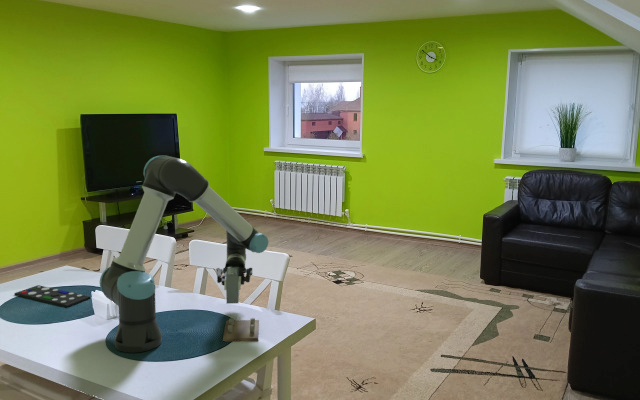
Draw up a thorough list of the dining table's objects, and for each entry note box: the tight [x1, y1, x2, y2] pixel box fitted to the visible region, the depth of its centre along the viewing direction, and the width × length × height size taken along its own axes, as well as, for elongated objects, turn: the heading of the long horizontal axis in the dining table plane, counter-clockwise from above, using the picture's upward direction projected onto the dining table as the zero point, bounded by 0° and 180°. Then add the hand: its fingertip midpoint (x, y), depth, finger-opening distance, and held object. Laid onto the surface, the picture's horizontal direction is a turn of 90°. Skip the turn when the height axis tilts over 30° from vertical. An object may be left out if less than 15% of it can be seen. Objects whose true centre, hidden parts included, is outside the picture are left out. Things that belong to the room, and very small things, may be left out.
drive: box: [225, 267, 240, 305], centre depth 194 cm, size 4×10×10 cm, turn 6°
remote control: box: [14, 284, 91, 309], centre depth 227 cm, size 11×30×2 cm, turn 65°
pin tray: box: [222, 317, 260, 342], centre depth 197 cm, size 12×16×4 cm
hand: (232, 286), depth 190 cm, fingers closed on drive, 4 cm apart
